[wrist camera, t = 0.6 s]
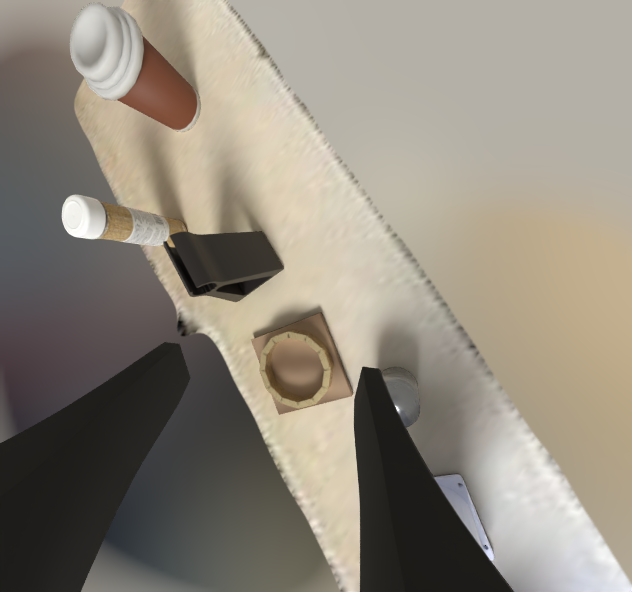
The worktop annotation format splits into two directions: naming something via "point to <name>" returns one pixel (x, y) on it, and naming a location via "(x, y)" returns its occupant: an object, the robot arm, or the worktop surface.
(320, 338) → the ring plate
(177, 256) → the phone stand
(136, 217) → the sprinkles bottle
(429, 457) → the worktop surface
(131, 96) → the coffee cup
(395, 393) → the cylinder
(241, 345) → the worktop surface
